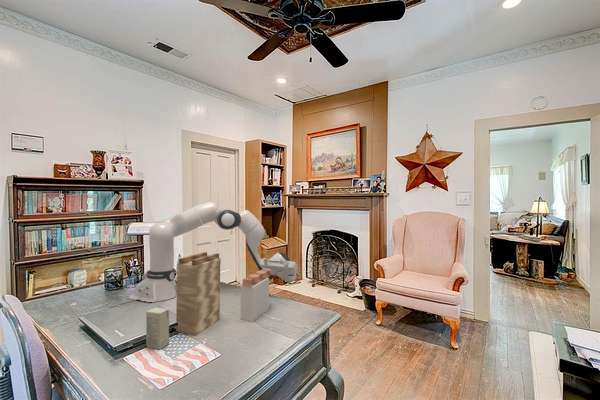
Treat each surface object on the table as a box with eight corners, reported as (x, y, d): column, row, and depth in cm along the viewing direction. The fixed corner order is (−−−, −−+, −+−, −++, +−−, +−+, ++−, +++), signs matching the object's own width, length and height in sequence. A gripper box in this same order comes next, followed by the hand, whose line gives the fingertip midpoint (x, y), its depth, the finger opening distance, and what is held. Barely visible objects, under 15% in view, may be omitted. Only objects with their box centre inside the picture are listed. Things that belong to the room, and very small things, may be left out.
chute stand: (201, 316, 122) (203, 252, 122) (219, 319, 119) (220, 253, 119) (176, 331, 108) (177, 258, 108) (195, 335, 105) (196, 260, 105)
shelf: (257, 307, 134) (257, 276, 134) (268, 309, 132) (269, 278, 132) (240, 319, 120) (241, 285, 120) (252, 321, 118) (253, 287, 118)
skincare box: (169, 343, 99) (170, 309, 99) (159, 350, 94) (160, 313, 95) (155, 340, 101) (156, 306, 101) (145, 346, 97) (145, 310, 97)
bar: (263, 274, 138) (264, 268, 138) (271, 275, 136) (271, 269, 137) (242, 285, 119) (242, 278, 119) (250, 287, 118) (251, 279, 118)
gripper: (266, 261, 159) (256, 252, 148) (300, 264, 152) (292, 255, 141) (263, 272, 156) (253, 264, 145) (298, 276, 149) (290, 268, 138)
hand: (273, 260), depth 143 cm, fingers open, 8 cm apart
